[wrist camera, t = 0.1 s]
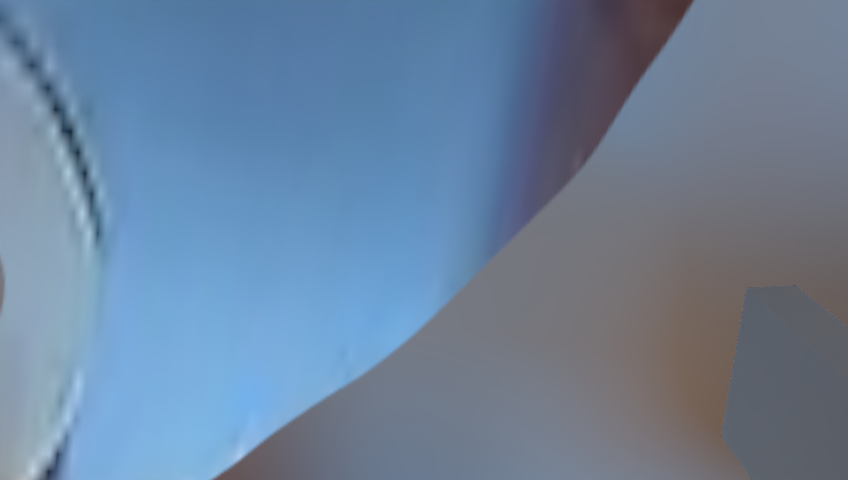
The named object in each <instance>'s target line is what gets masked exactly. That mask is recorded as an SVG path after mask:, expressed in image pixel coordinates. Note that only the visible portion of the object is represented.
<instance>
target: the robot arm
mask: <svg viewBox="0 0 848 480" xmlns="http://www.w3.org/2000/svg"><path fill="white" fill-rule="evenodd" d="M721 437H722V438H723V440H724V441H725V443H726V444H727V446H728V447H729V449H730V450H731V451H732V453H733V454H734V456H735V457H736V459H737V460H738V461H739V463H740V464H741V466H742V467H743V469H744V470H745V472H746V473H747V474H748V476H749V477H750V478H751V480H848V327H847V326H846V325H845V324H843V323H842V322H841V321H839V320H838V319H837V318H836V317H835V316H833V315H832V314H831V313H830V312H829V311H827V310H826V309H825V308H823V307H822V306H821V305H820V304H819V303H817V302H816V301H815V300H814V299H812V298H811V297H810V296H808V295H807V294H806V293H805V292H804V291H802V290H801V289H800V288H799V287H797V286H796V285H794V286H770V287H747V288H746V294H745V300H744V305H743V311H742V317H741V323H740V329H739V335H738V340H737V346H736V352H735V357H734V363H733V369H732V375H731V380H730V386H729V392H728V398H727V403H726V409H725V415H724V421H723V427H722V432H721Z"/></svg>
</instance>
